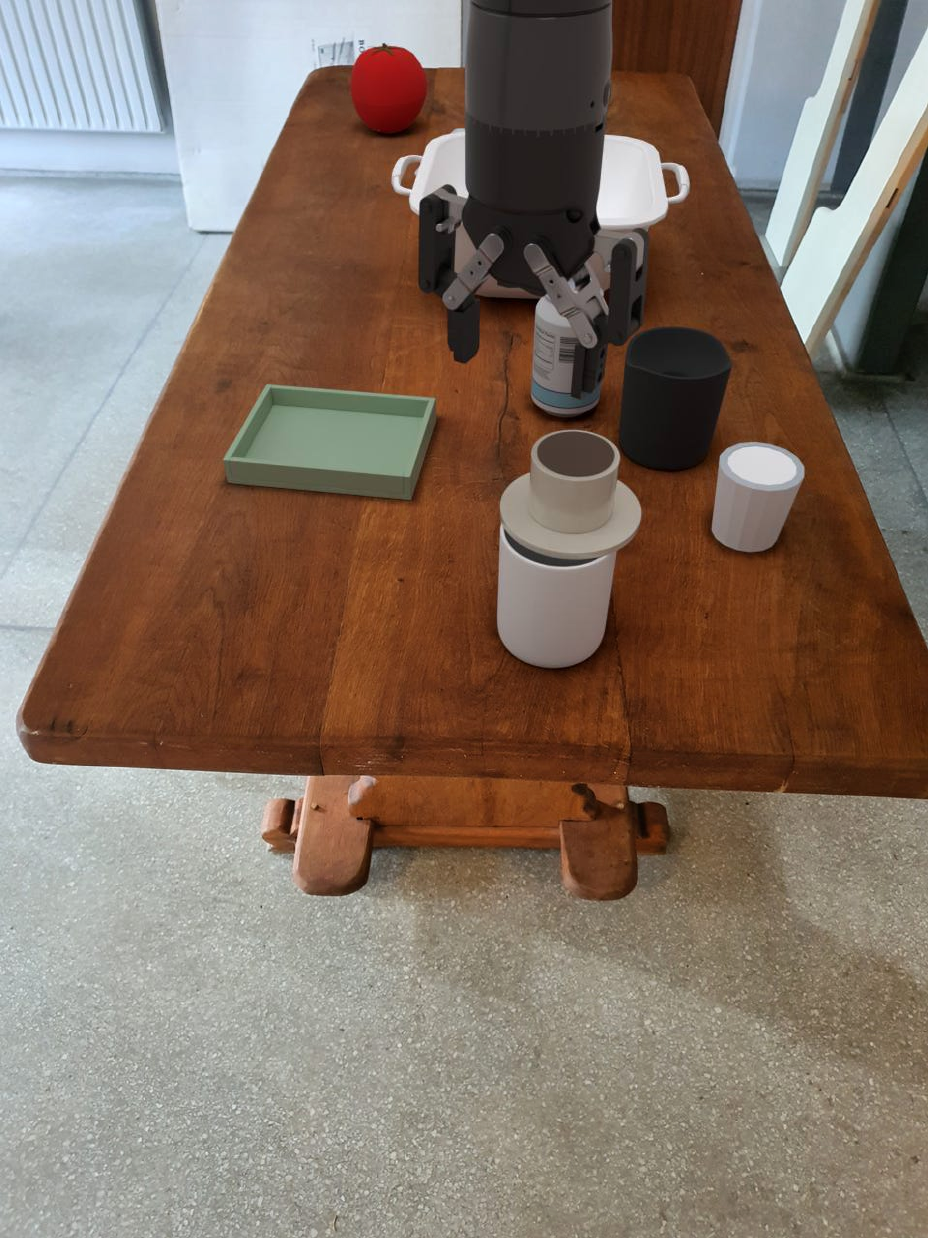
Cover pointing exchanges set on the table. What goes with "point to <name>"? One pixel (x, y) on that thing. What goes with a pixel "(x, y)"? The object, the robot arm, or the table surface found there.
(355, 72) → the tomato
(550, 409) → the beverage can
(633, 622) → the table surface
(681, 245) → the table surface
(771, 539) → the white short cylinder
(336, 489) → the tray
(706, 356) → the pen holder
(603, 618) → the cup
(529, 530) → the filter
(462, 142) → the baking dish
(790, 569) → the table surface
